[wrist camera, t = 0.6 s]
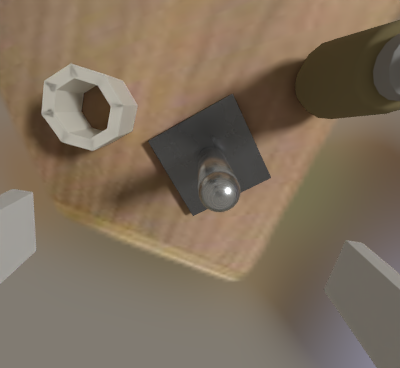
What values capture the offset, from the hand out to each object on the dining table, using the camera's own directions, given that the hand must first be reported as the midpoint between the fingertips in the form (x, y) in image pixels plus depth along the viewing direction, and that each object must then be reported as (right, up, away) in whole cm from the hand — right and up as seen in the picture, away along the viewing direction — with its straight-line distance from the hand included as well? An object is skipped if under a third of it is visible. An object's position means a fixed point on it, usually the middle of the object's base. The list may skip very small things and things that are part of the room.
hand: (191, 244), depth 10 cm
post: (+2, +6, +22) cm, 23 cm away
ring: (-12, +12, +20) cm, 26 cm away
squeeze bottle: (+15, +15, +19) cm, 29 cm away
